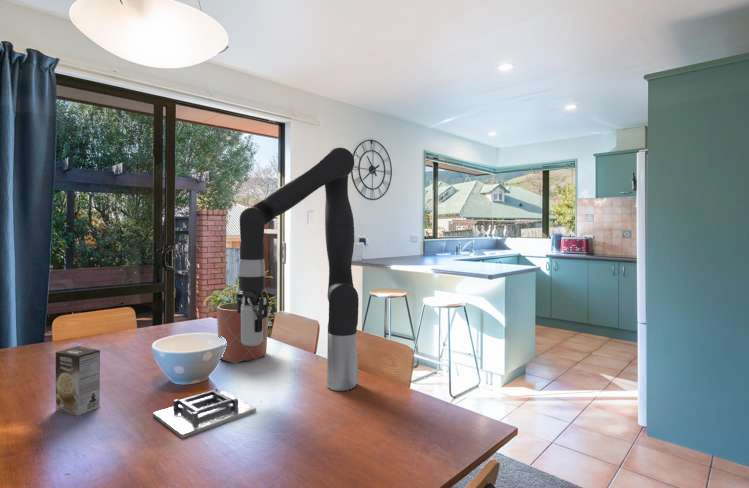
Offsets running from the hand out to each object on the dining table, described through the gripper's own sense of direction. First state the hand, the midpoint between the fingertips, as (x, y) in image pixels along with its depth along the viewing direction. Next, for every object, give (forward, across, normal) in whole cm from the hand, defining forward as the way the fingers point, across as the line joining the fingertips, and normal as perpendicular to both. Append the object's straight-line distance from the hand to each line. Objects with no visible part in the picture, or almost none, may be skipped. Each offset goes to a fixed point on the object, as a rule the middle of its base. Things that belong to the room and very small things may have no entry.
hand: (251, 329), depth 124 cm
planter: (+20, +35, -18) cm, 44 cm away
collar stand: (+20, -3, +16) cm, 25 cm away
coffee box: (+20, +25, +38) cm, 49 cm away
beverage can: (+4, 0, 0) cm, 4 cm away
